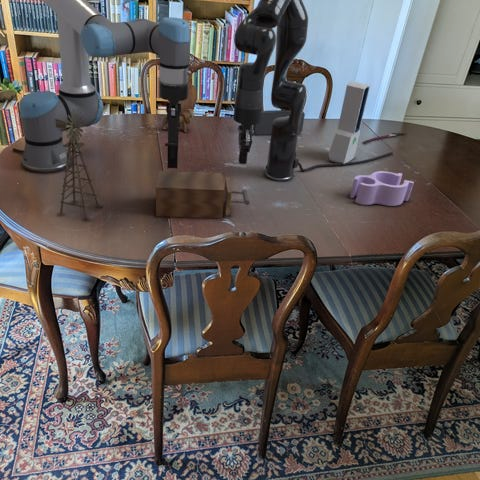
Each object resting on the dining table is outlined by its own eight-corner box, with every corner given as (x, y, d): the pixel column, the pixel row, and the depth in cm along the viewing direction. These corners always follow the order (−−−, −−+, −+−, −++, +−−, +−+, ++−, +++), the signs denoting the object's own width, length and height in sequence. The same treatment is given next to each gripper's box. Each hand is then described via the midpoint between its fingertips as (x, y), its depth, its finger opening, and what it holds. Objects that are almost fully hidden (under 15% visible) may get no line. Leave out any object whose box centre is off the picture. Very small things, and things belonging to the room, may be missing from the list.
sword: (401, 132, 223) (402, 129, 222) (407, 134, 221) (407, 131, 220) (358, 143, 207) (358, 140, 206) (363, 145, 205) (364, 143, 204)
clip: (362, 208, 153) (367, 189, 149) (343, 191, 163) (348, 173, 159) (412, 204, 159) (418, 185, 156) (392, 187, 169) (397, 170, 165)
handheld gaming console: (299, 131, 211) (303, 109, 205) (302, 133, 208) (305, 111, 203) (251, 133, 203) (254, 110, 198) (254, 135, 201) (256, 112, 196)
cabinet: (220, 200, 149) (222, 173, 144) (222, 218, 140) (224, 190, 134) (158, 198, 146) (157, 170, 141) (155, 216, 137) (155, 187, 132)
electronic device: (344, 166, 181) (362, 88, 165) (326, 160, 185) (342, 83, 168) (355, 157, 191) (373, 82, 174) (338, 152, 194) (354, 78, 177)
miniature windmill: (85, 220, 131) (75, 116, 115) (58, 214, 132) (43, 110, 116) (100, 205, 139) (92, 105, 123) (74, 200, 140) (62, 101, 124)
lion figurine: (191, 127, 202) (192, 107, 197) (195, 131, 198) (195, 111, 193) (158, 128, 197) (158, 107, 192) (160, 133, 193) (160, 111, 188)
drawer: (245, 200, 149) (247, 178, 145) (248, 215, 141) (251, 193, 137) (168, 197, 146) (168, 174, 142) (167, 213, 138) (167, 189, 133)
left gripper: (188, 97, 113) (186, 177, 125) (188, 72, 134) (186, 142, 145) (157, 95, 112) (157, 175, 124) (161, 70, 133) (161, 141, 144)
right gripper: (265, 112, 122) (257, 173, 131) (258, 97, 133) (252, 154, 142) (236, 110, 121) (231, 171, 130) (232, 96, 132) (228, 153, 141)
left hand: (173, 158), depth 134 cm, fingers open, 13 cm apart
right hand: (242, 162), depth 136 cm, fingers closed
